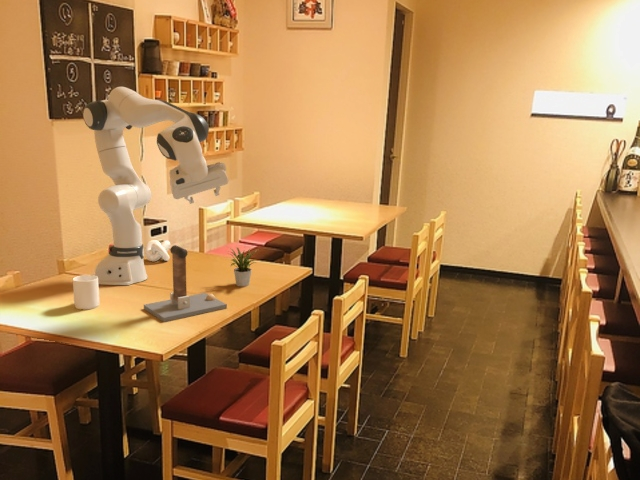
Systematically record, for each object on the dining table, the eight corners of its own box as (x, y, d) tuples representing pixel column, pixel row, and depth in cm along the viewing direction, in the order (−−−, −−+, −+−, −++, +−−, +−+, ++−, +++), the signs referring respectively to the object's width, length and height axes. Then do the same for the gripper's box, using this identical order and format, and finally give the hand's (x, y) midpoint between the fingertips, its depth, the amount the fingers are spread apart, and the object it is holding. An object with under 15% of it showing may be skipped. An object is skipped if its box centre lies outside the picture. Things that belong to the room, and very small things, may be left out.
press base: (163, 322, 198) (163, 306, 197) (143, 308, 210) (143, 293, 209) (226, 308, 213) (226, 293, 212) (204, 296, 225) (204, 282, 224)
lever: (180, 303, 206) (178, 249, 202) (171, 298, 211) (170, 245, 206) (188, 301, 208) (187, 248, 204) (180, 296, 213) (178, 244, 208)
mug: (85, 298, 219) (83, 271, 217) (107, 299, 219) (105, 272, 216) (70, 309, 207) (68, 281, 205) (93, 310, 207) (92, 282, 205)
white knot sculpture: (157, 255, 282) (156, 237, 280) (178, 258, 278) (178, 239, 276) (141, 261, 272) (140, 241, 270) (163, 264, 268) (162, 244, 266)
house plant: (214, 286, 237) (214, 246, 233) (232, 277, 250) (232, 239, 246) (246, 291, 232) (246, 250, 228) (263, 282, 245) (263, 243, 241)
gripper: (221, 155, 209) (230, 184, 219) (164, 172, 206) (175, 201, 216) (226, 166, 205) (234, 195, 215) (167, 184, 202) (178, 212, 212)
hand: (204, 198), depth 216 cm, fingers open, 8 cm apart
